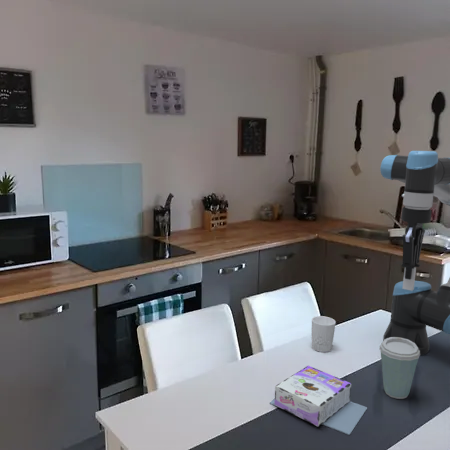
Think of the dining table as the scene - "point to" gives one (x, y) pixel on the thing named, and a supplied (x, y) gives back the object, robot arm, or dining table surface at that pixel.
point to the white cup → (322, 333)
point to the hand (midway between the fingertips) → (408, 288)
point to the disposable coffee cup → (398, 365)
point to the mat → (343, 417)
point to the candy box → (312, 395)
